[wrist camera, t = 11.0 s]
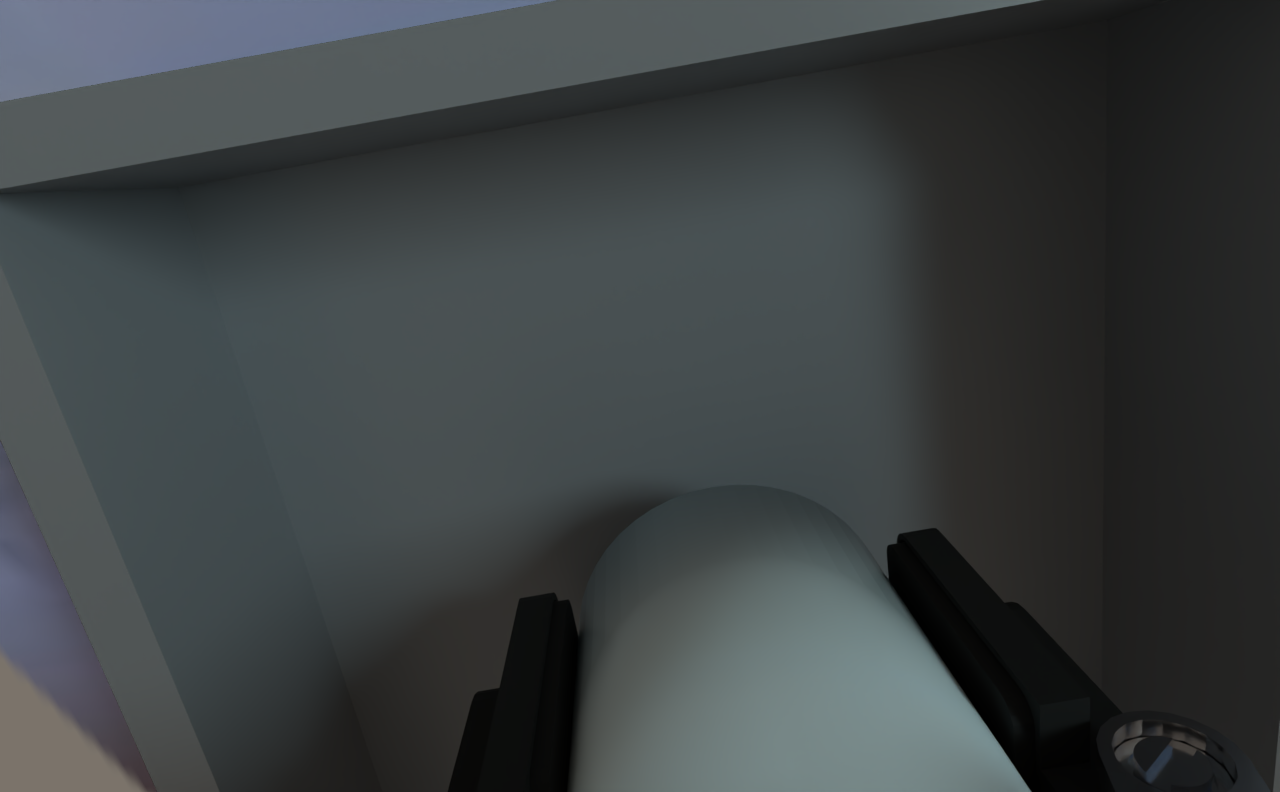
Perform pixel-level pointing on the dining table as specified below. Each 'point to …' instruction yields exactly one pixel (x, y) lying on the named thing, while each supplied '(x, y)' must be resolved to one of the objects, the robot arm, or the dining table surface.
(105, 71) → the dining table surface
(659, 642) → the pale green capsule
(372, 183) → the bin
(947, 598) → the robot arm
